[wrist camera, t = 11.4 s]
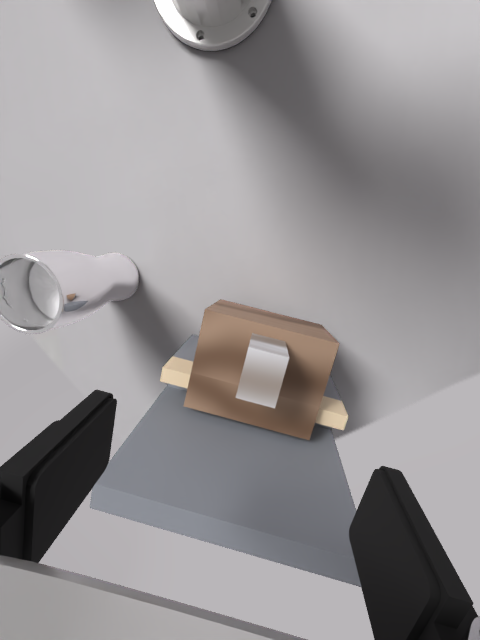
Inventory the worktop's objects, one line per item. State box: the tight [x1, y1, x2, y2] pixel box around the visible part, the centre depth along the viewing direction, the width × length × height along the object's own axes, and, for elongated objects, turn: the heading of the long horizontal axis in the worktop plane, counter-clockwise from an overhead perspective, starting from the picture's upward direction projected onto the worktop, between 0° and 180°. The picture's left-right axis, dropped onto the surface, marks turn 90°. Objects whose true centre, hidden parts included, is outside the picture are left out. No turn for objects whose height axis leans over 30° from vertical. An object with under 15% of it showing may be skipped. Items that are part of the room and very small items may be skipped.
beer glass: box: [0, 250, 139, 334], centre depth 32 cm, size 7×7×15 cm
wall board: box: [90, 335, 361, 587], centre depth 30 cm, size 6×18×22 cm, turn 77°
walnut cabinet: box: [184, 299, 339, 440], centre depth 30 cm, size 9×12×14 cm
